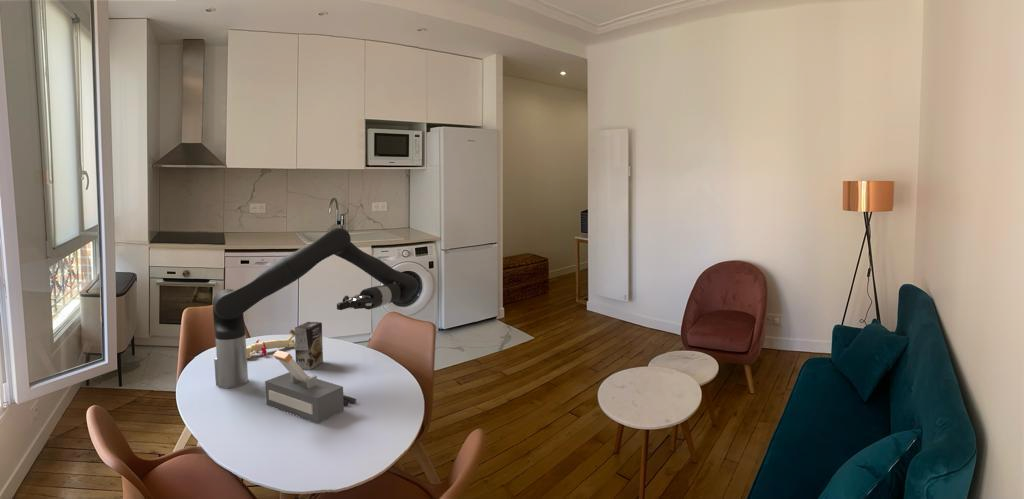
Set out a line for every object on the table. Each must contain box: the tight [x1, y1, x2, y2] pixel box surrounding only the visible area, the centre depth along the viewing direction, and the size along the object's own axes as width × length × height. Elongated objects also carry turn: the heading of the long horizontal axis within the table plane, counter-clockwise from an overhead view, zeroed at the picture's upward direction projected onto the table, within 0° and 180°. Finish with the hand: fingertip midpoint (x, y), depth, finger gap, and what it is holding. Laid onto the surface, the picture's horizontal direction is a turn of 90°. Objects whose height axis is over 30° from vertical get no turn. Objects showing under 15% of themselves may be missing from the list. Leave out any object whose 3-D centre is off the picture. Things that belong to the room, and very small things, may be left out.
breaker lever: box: [272, 349, 309, 383], centre depth 160 cm, size 2×6×14 cm
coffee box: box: [294, 321, 324, 370], centre depth 201 cm, size 9×6×16 cm
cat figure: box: [246, 329, 295, 359], centre depth 214 cm, size 10×9×25 cm
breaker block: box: [264, 371, 357, 424], centre depth 167 cm, size 17×24×11 cm
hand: (338, 306), depth 174 cm, fingers closed
